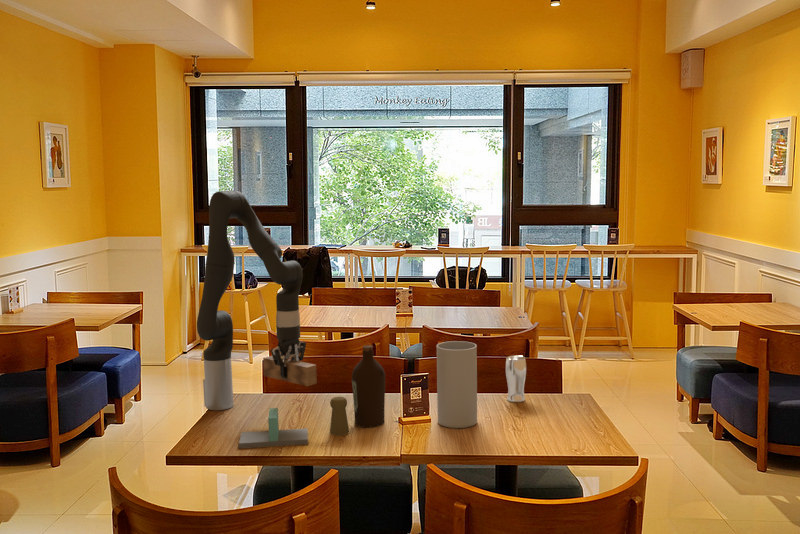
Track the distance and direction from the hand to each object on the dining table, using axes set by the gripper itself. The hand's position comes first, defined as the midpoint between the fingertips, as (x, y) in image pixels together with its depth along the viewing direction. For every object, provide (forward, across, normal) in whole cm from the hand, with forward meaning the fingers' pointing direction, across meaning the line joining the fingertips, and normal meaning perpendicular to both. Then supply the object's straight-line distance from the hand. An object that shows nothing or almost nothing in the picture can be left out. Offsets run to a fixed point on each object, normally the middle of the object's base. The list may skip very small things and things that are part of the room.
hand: (289, 375), depth 254 cm
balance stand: (+15, +16, +9) cm, 24 cm away
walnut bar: (+1, 0, 0) cm, 1 cm away
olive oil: (+15, -13, +22) cm, 30 cm away
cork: (+15, -1, +20) cm, 25 cm away
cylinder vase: (+15, -29, +45) cm, 56 cm away
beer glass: (+15, -61, +48) cm, 79 cm away
